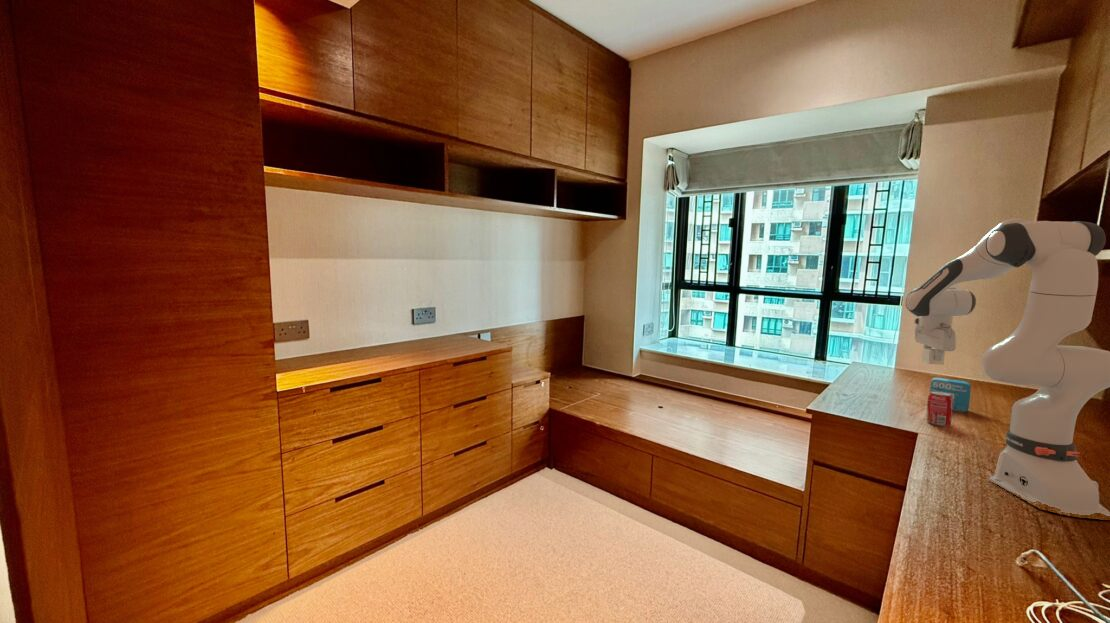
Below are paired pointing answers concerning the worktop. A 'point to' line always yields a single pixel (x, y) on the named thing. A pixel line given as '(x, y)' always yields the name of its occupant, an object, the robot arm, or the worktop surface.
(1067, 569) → the worktop surface
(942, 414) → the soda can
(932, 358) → the cream block
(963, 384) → the data package
